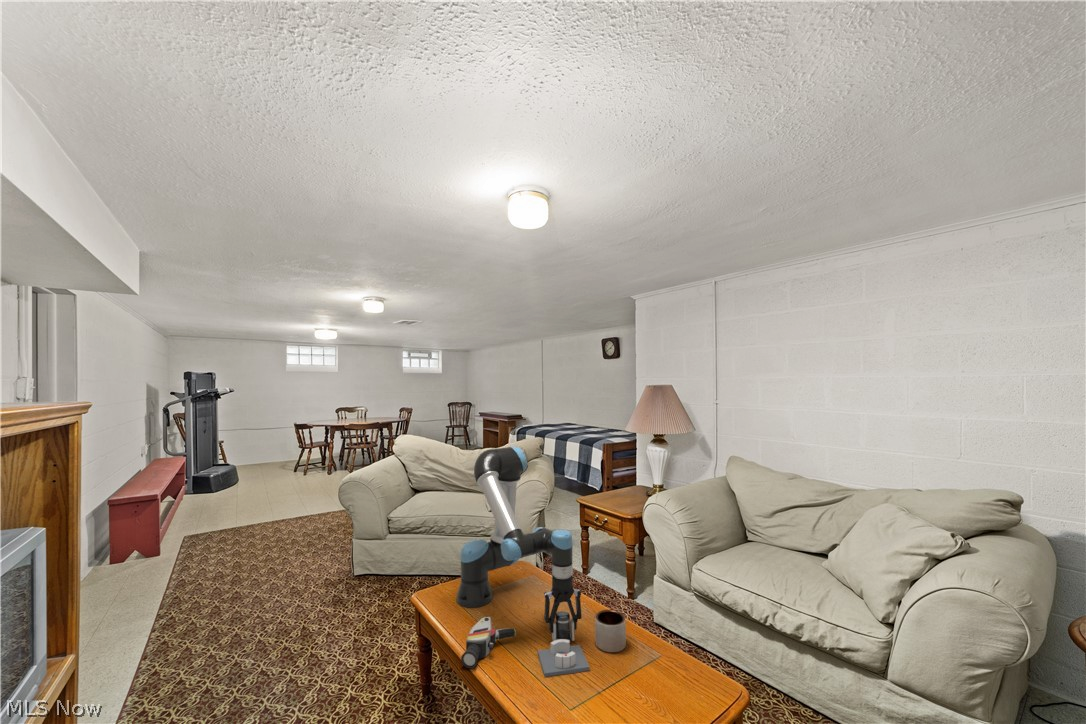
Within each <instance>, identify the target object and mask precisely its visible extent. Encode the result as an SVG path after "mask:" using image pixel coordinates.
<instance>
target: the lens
mask: <svg viewBox="0 0 1086 724" xmlns="http://www.w3.org/2000/svg"><path fill="white" fill-rule="evenodd" d="M570 615H571V614H570V612H567V611H565V610H564V611H557V613H556V617H555V624H556V640H558V639H566V640H570V641H571V637H570V619H571V618H570Z"/></svg>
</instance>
